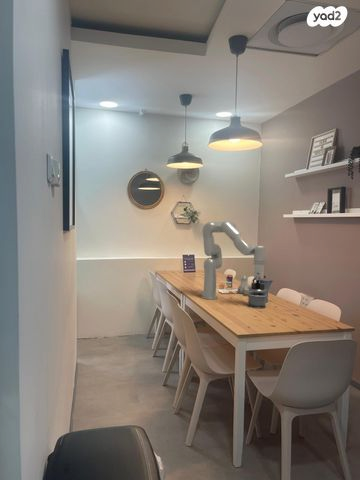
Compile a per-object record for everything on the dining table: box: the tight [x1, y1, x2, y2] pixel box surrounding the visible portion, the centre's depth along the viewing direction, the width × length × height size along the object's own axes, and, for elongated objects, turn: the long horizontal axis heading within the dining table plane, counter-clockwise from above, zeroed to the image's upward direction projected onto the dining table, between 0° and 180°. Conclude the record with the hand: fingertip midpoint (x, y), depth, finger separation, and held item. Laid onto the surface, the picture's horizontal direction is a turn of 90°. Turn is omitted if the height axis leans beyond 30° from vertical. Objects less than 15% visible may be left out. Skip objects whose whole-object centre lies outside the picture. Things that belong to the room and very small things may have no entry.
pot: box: [247, 292, 267, 309], centre depth 249 cm, size 13×13×9 cm
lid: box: [249, 281, 267, 292], centre depth 248 cm, size 13×13×5 cm
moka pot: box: [252, 275, 274, 304], centre depth 266 cm, size 10×15×20 cm, turn 78°
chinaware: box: [237, 274, 253, 297], centre depth 295 cm, size 28×17×17 cm, turn 161°
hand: (257, 287), depth 248 cm, fingers closed on lid, 4 cm apart
